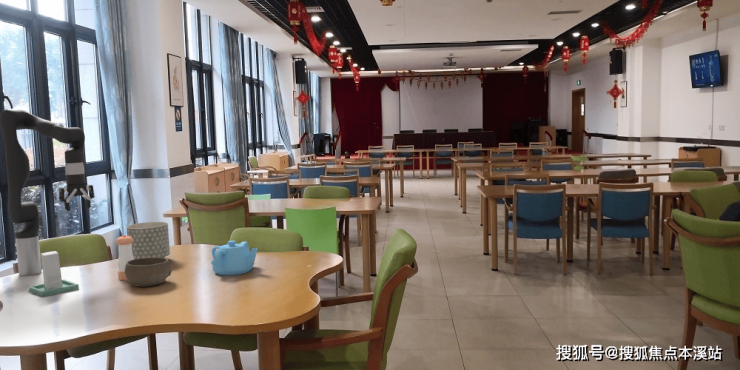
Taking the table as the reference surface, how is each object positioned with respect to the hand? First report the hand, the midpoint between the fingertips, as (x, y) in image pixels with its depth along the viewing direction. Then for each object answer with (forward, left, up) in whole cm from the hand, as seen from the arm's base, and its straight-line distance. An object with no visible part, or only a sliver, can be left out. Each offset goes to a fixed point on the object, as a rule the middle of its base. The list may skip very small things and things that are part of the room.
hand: (78, 209), depth 269 cm
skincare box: (+13, -18, -30) cm, 37 cm away
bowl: (+38, +10, -30) cm, 50 cm away
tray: (+13, -18, -30) cm, 37 cm away
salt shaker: (+20, +10, -30) cm, 38 cm away
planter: (-2, +33, -30) cm, 45 cm away
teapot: (+51, +44, -30) cm, 74 cm away
